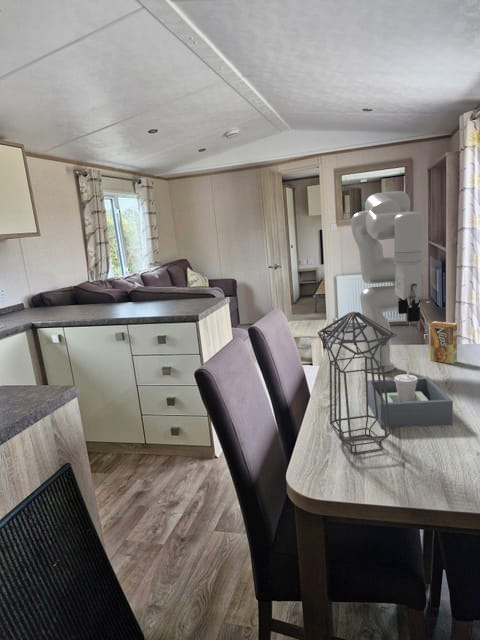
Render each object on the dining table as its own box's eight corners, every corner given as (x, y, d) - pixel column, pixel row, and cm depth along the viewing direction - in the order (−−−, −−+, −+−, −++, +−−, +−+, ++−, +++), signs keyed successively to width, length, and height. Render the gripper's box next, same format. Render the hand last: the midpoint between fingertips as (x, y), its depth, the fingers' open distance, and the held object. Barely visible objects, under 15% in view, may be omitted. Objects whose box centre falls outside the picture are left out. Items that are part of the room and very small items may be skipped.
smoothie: (419, 413, 125) (419, 366, 122) (396, 413, 127) (395, 367, 124) (415, 404, 131) (415, 360, 128) (393, 404, 133) (392, 360, 130)
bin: (366, 401, 139) (366, 380, 138) (428, 398, 137) (428, 377, 136) (381, 428, 121) (380, 404, 119) (452, 425, 119) (452, 401, 117)
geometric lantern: (340, 463, 105) (331, 321, 99) (323, 435, 121) (314, 310, 114) (404, 454, 106) (398, 313, 100) (378, 427, 121) (372, 304, 115)
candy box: (457, 361, 169) (457, 322, 165) (452, 364, 166) (453, 325, 163) (434, 358, 175) (434, 320, 172) (429, 360, 172) (429, 323, 169)
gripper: (387, 256, 131) (388, 311, 135) (403, 262, 114) (403, 325, 118) (413, 254, 130) (413, 310, 134) (433, 260, 114) (432, 323, 118)
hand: (408, 317), depth 126 cm, fingers open, 9 cm apart
